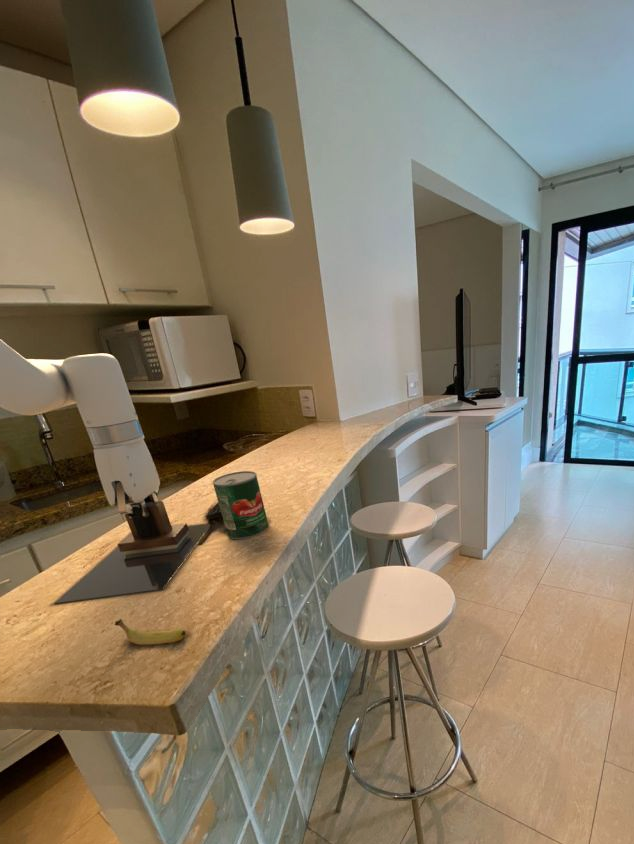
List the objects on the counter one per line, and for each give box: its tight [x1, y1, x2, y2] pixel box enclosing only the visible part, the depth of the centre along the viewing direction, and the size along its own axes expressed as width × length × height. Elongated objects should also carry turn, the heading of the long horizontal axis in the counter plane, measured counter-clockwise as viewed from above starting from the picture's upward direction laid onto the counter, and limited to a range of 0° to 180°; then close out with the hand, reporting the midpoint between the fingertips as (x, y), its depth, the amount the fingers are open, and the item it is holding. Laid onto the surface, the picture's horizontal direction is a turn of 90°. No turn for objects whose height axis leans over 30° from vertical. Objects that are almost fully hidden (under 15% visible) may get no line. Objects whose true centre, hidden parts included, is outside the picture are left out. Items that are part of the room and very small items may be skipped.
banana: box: [114, 618, 186, 646], centre depth 49 cm, size 8×2×4 cm, turn 87°
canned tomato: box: [212, 470, 270, 541], centre depth 78 cm, size 8×8×11 cm
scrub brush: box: [117, 500, 189, 555], centre depth 74 cm, size 10×6×8 cm, turn 95°
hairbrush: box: [205, 498, 223, 521], centre depth 94 cm, size 8×4×25 cm
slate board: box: [53, 522, 214, 605], centre depth 72 cm, size 16×24×1 cm, turn 4°
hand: (153, 532), depth 75 cm, fingers closed on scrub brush, 2 cm apart
